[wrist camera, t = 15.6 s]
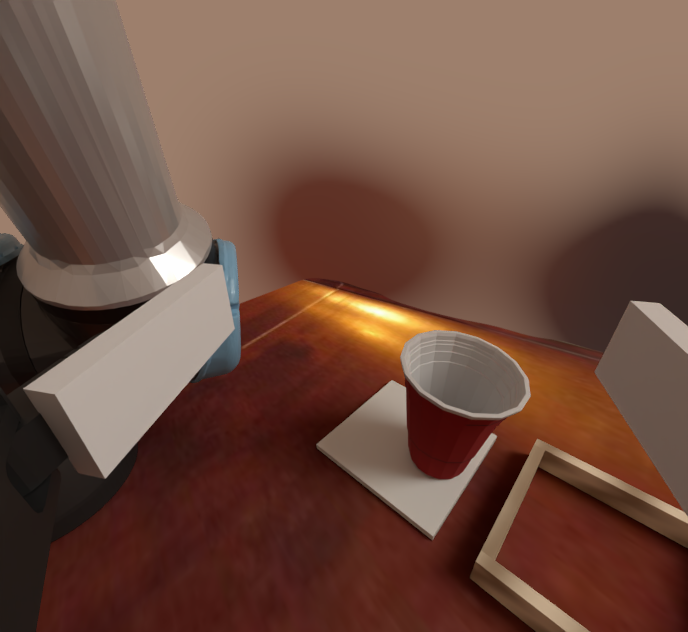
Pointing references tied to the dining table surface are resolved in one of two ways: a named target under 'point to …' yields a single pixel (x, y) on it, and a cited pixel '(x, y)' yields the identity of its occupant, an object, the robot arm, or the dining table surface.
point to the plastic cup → (456, 398)
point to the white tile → (395, 461)
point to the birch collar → (667, 520)
